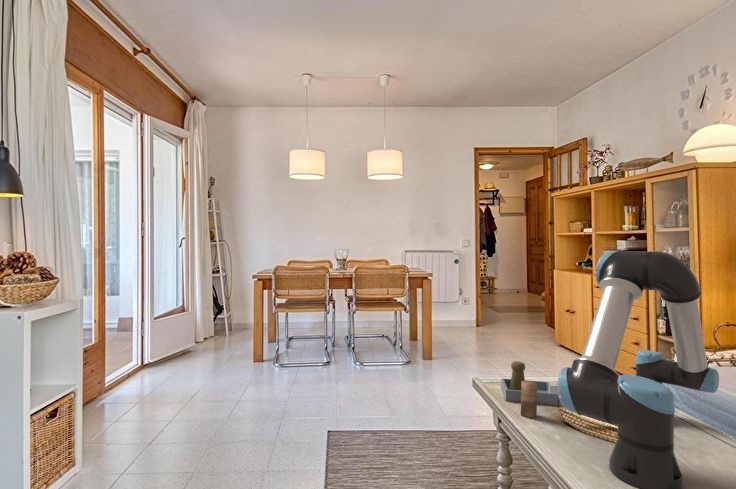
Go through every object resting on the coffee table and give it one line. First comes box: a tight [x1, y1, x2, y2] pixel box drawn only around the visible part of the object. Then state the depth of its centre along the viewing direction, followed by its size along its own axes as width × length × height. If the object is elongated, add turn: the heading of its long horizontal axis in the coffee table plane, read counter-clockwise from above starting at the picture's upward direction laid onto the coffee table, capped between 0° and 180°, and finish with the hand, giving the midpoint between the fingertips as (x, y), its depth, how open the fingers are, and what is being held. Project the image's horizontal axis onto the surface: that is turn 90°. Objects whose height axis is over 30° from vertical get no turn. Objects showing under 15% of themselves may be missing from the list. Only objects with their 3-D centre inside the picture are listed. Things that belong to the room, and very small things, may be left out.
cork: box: [510, 360, 526, 391], centre depth 165 cm, size 6×6×11 cm
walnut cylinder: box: [520, 379, 538, 419], centre depth 142 cm, size 5×5×11 cm
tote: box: [500, 377, 558, 406], centre depth 161 cm, size 15×18×4 cm
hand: (557, 395), depth 144 cm, fingers open, 13 cm apart
